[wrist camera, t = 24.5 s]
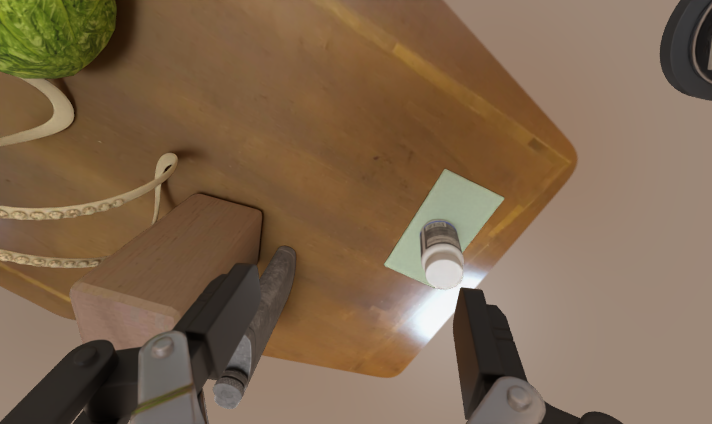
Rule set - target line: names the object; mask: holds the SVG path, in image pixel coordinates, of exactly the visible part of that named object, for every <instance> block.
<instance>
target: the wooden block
mask: <svg viewBox="0 0 712 424" xmlns="http://www.w3.org/2000/svg"><path fill="white" fill-rule="evenodd" d="M261 224H262V213H261V211H259V210H258V209H254V208H250V207H247V206H243V205H239V204H236V203H232V202H228V201H225V200H221V199H217V198H214V197H210V196H207V195H203V194H194V195H192V196H190V197H189V198H188V199H186V200H185V201H184V202H182V203H181V204H180V205H178V206H177V207H176V208H174V209H173V210H172V211H170V212H169V213H168V214H166V215H165V216H164V217H162V218H161V219H160V220H158V221H157V222H156V223H154V224H153V225H152V226H150V227H149V228H147V229H146V230H145V231H143V232H142V233H141V234H139V235H138V236H137V237H135V238H134V239H133V240H131V241H130V242H129V243H127V244H126V245H125V246H123V247H122V248H121V249H119V250H118V251H117V252H115V253H114V254H113V255H111V256H110V257H109V258H107V259H106V260H105V261H103V262H102V263H101V264H99V265H98V266H97V267H95V268H94V269H92V270H91V271H90V272H88V273H87V274H86V275H84V276H83V277H82V278H80V279H79V280H78V281H76V282H75V283H74V285H73V286H72V288H71V290H70V293H69V295H70V298H71V302H72V306H73V309H74V313H75V317H76V320H77V324H78V328H79V332H80V335H81V338H82V343H83V344H84V343H87V342H90V341H93V340H108V341H110V342H111V343H112V344H113V346H114V348H115V350H122V349H129V348H136V347H142V346H143V345H144V344H145V343H146V342H147V341H148V340H149V339H150V338H152V337H154V336H155V335H157V334H160V333H162V332H166V331H171V330H172V329H173V328H174V326H175V325H176V324H177V323H178V321H179V320H180V319H181V318H182V316H183V315H184V314H185V313H186V311H187V310H188V309H189V308H190V307H191V305H192V304H193V303H194V302H195V301H196V300H197V298H198V297H199V295H200V294H201V293H203V290H204V289H205V288H206V287H207V285H208V284H209V283H210V282H211V281H212V280H214V279H215V278H217V277H218V276H219V275H221V274H228V272H229V271H230V270H231V268H232V267H233V266H234V265H235V264H236V263H247V264H255V265H257V263H258V253H259V243H260V234H261Z"/></svg>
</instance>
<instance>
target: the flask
mask: <svg viewBox="0 0 712 424" xmlns="http://www.w3.org/2000/svg"><path fill="white" fill-rule="evenodd" d="M295 267H296V253H295V251H294V250H293V249H292V248H290V247H288V246H281V247H279V248H278V250H277V251H276V253H275V255H274V256H273V258H272V260H271V261H270V263H269V264H268V266H267V268H266V269H265V271H264V273H263V274H262V276H261V278H260V279H259V281H260V287H261V303H260V306H259V309H258V311H257V312H256V314H255V316H254V318H253V320H252V322H251V323H250V325H249V327H248V329H247V331H246V332H245V334H244V336H243V338H242V340H241V342H240V343H239V345H238V347H237V349H236V351H235V352H234V354H233V356H232V358H231V360H230V362H229V363H228V365H227V367H226V369H225V371H224V372H223V374H222V376H221V378H220V380H219V381H218V380H217V381H216V384H215V385H214V387H213V392H214V394H215V398H214V399H215V402H216V403H217V404H218V405H220V406H221V407H224V408H227V409H233V408H235V407H236V406H237V405H238V403H239V402H240V400H241V399H242V397H243V394H244V392H245V390H246V388H247V386H248V384H249V381H250V379H251V377H252V375H253V373H254V371H255V368H256V366H257V364H258V362H259V360H260V357H261V355H262V353H263V351H264V349H265V347H266V344H267V342H268V340H269V338H270V336H271V334H272V331H273V329H274V327H275V325H276V323H277V321H278V318H279V316H280V314H281V312H282V310H283V308H284V305H285V303H286V301H287V299H288V296H289V294H290V291H291V287H292V284H293V280H294V275H295Z"/></svg>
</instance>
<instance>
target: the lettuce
mask: <svg viewBox="0 0 712 424" xmlns="http://www.w3.org/2000/svg"><path fill="white" fill-rule="evenodd" d="M116 10H117V7H116V2H115V0H0V71H1V72H4V73H7V74H10V75H14V76H17V77H20V78H23V79H55V78H61V77H67V76H73V75H75V74H76V73H77V72H79V71H80V70H81V69H83V68H84V67H85V66H87V65H88V64H89V63H91V62H92V61H93V60H94V59H95V58H96V57H97V55H98V54H99V53H100V52H101V51H102V50H103V49H104V48H105V47H106V45H107V43H108V41H109V40H110V38H111V36H112V34H113V32H114V30H115V24H116Z"/></svg>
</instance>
